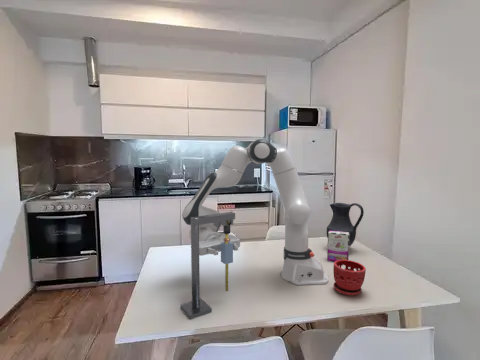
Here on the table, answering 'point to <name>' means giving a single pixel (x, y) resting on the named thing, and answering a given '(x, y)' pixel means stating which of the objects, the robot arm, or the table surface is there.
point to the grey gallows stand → (197, 304)
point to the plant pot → (348, 277)
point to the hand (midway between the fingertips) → (227, 250)
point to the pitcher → (344, 220)
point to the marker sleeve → (226, 252)
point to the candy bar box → (338, 246)
